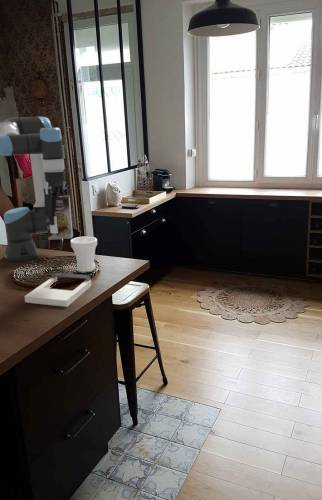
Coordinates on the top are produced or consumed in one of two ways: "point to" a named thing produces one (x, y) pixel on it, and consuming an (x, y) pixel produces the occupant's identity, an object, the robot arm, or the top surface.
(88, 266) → the cup
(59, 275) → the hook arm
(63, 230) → the grey rectangular box
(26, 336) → the top surface
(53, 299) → the white rectangular frame
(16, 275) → the top surface
